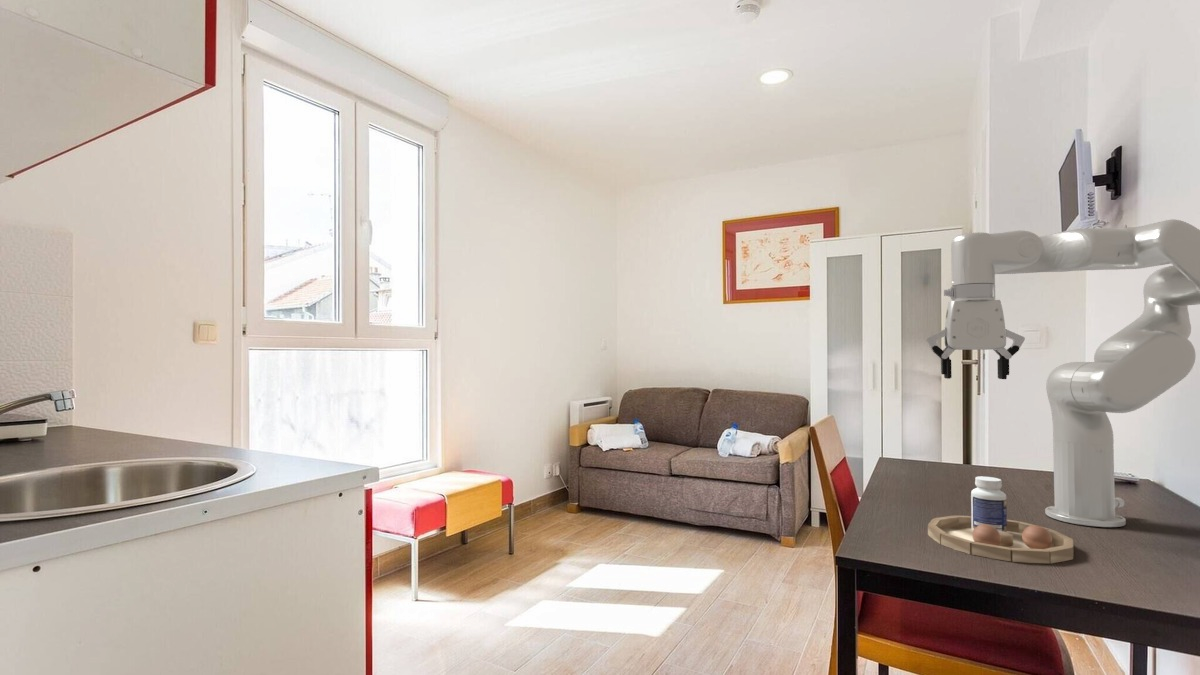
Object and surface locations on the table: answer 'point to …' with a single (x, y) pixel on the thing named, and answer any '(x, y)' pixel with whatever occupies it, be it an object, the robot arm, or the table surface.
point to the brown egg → (986, 535)
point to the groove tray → (1011, 548)
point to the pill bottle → (988, 504)
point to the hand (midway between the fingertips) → (974, 378)
